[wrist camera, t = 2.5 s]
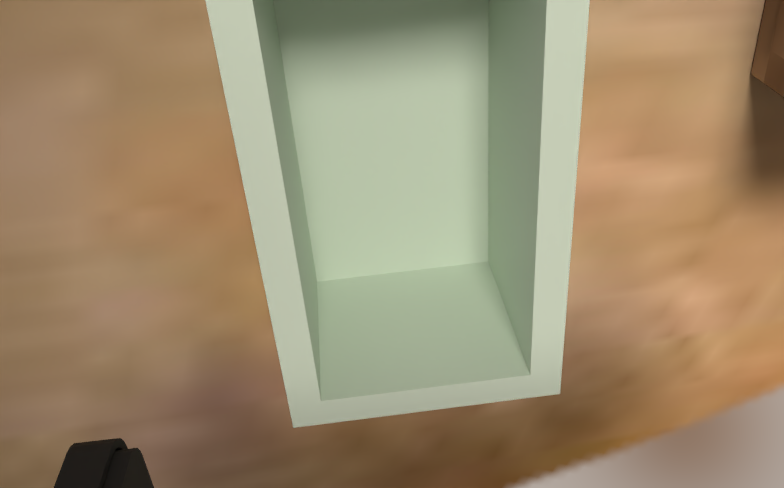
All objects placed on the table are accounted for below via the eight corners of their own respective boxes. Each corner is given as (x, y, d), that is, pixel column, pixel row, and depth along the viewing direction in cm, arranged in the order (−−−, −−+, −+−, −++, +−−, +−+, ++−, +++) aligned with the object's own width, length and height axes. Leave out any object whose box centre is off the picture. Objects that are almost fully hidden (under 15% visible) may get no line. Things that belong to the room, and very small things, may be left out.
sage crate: (224, -101, 15) (196, -45, 11) (516, -128, 15) (596, -84, 11) (294, 292, 21) (293, 427, 17) (508, 266, 21) (559, 394, 17)
